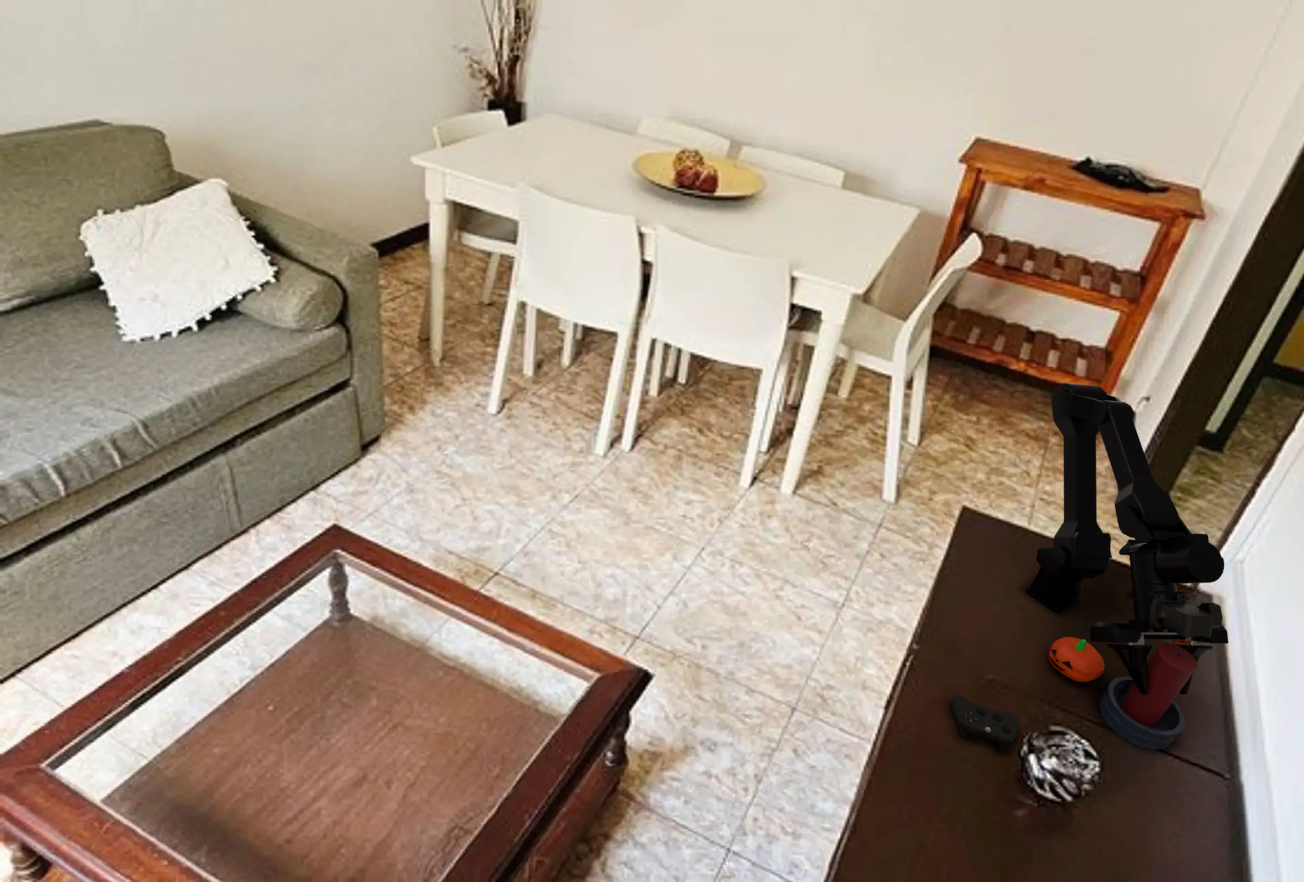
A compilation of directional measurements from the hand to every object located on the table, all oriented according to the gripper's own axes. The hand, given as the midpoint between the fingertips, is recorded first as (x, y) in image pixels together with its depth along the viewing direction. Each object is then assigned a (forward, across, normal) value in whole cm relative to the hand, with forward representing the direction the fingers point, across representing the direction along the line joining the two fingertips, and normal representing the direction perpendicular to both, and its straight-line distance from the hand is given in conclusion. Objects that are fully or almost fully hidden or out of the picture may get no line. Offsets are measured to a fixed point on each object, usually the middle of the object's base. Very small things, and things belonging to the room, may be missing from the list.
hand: (1164, 694), depth 126 cm
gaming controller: (+5, -26, +6) cm, 27 cm away
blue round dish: (+4, 0, +6) cm, 8 cm away
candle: (+4, 0, +6) cm, 7 cm away
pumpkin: (-2, -6, +13) cm, 14 cm away
